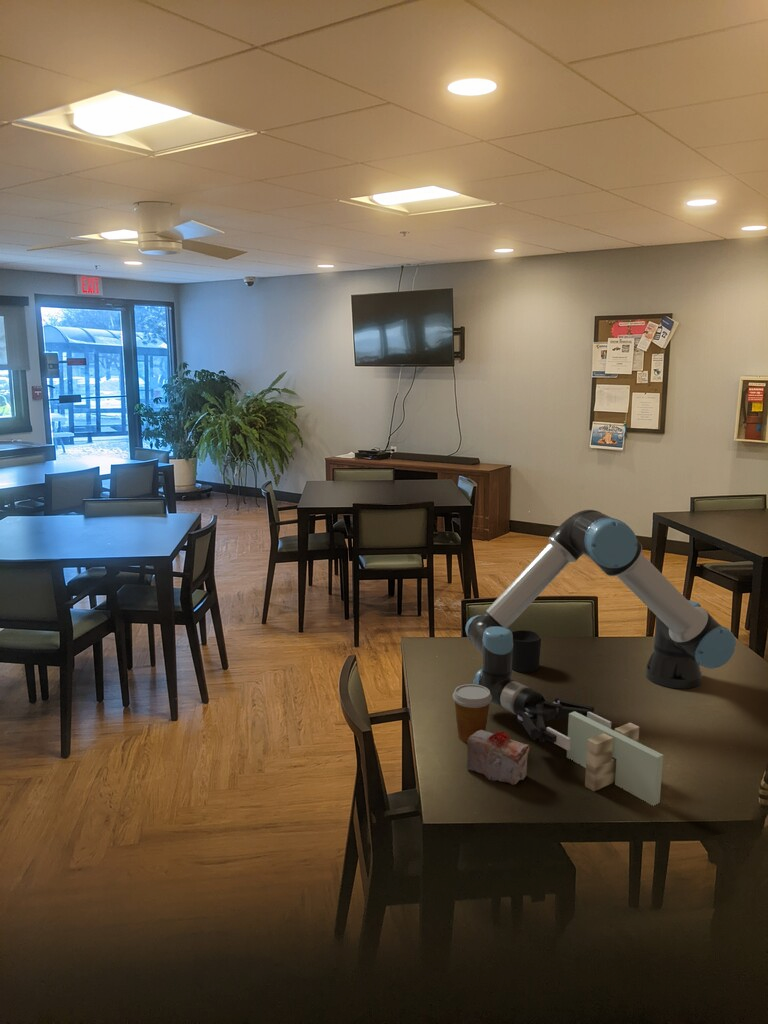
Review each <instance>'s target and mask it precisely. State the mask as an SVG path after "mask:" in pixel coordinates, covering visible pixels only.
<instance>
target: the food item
mask: <svg viewBox="0 0 768 1024" xmlns="http://www.w3.org/2000/svg"><path fill="white" fill-rule="evenodd" d="M466 744H467V746H466V747H467V748H466V750H467V753H466V755H467V756H466V759H467V760H466V769H467V770H469V771H474V772H476V773H478V774H481V775H484V776H485V778H487V780H489V781H495V782H496V781H499V782H502V783H507V784H510V785H512V786H514V785H515V786H516V785H517V784H518V782H519V781H523V780H524V779H525V778H526V777H527V772H528V771H527V769H528V758H529V757H528V756H529V752H530V748H531V747H530V744H527V743H523V742H519V741H517V740H514V739H511V735H509V734H507V733H505V731H498V730H497V731H495V733H493V732H490V731H486V730H485V731H484V730H479V731H477V732H475V733H473V734H472V735H471V736H470V737H469V738H468V740H467V742H466Z"/></svg>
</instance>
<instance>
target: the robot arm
mask: <svg viewBox="0 0 768 1024" xmlns="http://www.w3.org/2000/svg"><path fill="white" fill-rule="evenodd" d="M642 552H643V545H642V544H641V542H640V541H639V540H638V539H637V536H636V534H635V531H633V529H632V528H631V527H630V526H629V525H628V524H627V523H626V522H624V521H622V520H619V519H618V518H614V517H611V516H608V515H607V514H605V513H602V512H601V511H600V510H599V511H598V510H595V509H584V510H580V511H577V512H576V513H574V514H572V515H571V516H569V517H568V518H566V520H564V521H563V522H562V523H561V524H560V525H558V527H557V528H556V529H555V530H554V531H553V532H552V533H551V534H550V535H549V537H548V543H547V544H546V545H545V546H544V547H543V549H541V551H539V552H538V553H537V555H536V556H535V557H534V558H533V559H532V561H530V563H529V564H528V565H526V567H525V568H524V569H523V570H522V571H521V572H520V573H519V575H517V576H516V578H515V579H514V580H512V582H511V583H510V584H509V585H508V586H507V587H506V589H504V591H503V592H502V593H501V594H500V595H499V596H498V597H497V598H496V599H495V600H494V601H493V602H492V603H491V605H489V607H487V609H486V610H484V612H483V613H482V614H481V615H479V614H477V615H474V616H472V617H470V618H469V619H468V621H466V624H465V634H466V636H467V637H468V640H469V641H470V643H471V644H472V645H473V646H474V647H475V649H476V650H477V651H478V652H479V653H480V655H481V656H482V668H481V669H479V670H478V671H477V672H476V673H475V675H474V676H475V677H474V679H473V681H472V684H476V685H481V686H484V687H486V688H487V689H489V691H490V694H491V696H492V700H491V702H490V703H492V704H493V703H494V704H495V705H497V706H499V707H501V708H502V709H504V710H506V711H508V712H510V713H512V714H513V715H516V716H517V722H518V723H519V724H521V725H522V726H523V728H524V729H525V731H526V732H527V734H528V735H529V737H530V738H531V739H532V740H533V741H535V740H538V739H539V742H541V743H544V742H545V740H546V741H548V742H550V743H553V744H554V745H556V746H559V747H561V748H562V749H564V750H566V752H567V751H568V750H570V738H569V737H568V735H565V734H563V733H561V732H559V731H558V730H556V729H553V728H552V727H550V726H547V727H546V726H545V722H548V721H550V720H561V719H568V720H569V713H572V712H574V711H575V712H577V713H579V714H581V715H583V716H585V717H587V718H589V719H592V720H594V721H596V722H598V723H600V724H602V725H604V726H606V727H608V728H610V729H612V721H610V720H608V719H606V718H604V717H602V716H599V715H598V714H596V713H595V707H594V706H593V705H586V704H582V703H577V702H573V701H570V700H565V699H561V698H558V697H555V698H554V701H553V702H551V701H548V700H546V699H545V697H544V696H543V694H541V693H540V692H539V691H537V690H535V689H533V688H530V687H529V686H527V685H524V684H523V683H521V682H518V681H516V680H515V679H512V675H513V674H512V673H513V672H512V671H513V669H512V653H513V635H512V632H513V631H511V630H510V629H509V627H510V626H512V624H513V623H514V622H515V621H516V620H517V619H518V618H519V616H521V615H522V613H523V612H524V611H526V609H527V608H528V607H529V606H530V605H531V604H532V603H533V602H534V601H535V599H537V597H538V596H539V595H540V594H542V592H543V591H544V590H545V589H546V588H547V587H548V586H549V585H550V584H551V583H552V582H553V580H555V579H556V578H557V576H558V575H559V574H561V572H562V571H563V570H564V569H565V568H567V565H569V563H573V562H574V563H575V562H576V561H578V560H579V559H580V557H582V556H583V555H585V556H586V557H588V558H589V559H590V560H591V561H592V562H593V563H595V565H596V566H597V567H599V568H600V570H601V571H602V572H603V573H605V575H606V576H608V577H617V578H618V579H619V580H620V582H621V583H623V584H624V585H625V586H626V587H627V588H628V589H629V590H630V591H631V592H632V593H633V594H634V595H635V596H636V597H637V598H638V600H640V601H641V602H642V603H643V604H644V605H645V606H646V607H647V608H648V609H649V610H650V611H651V612H652V613H653V614H654V615H655V627H654V640H653V641H654V642H653V650H652V653H651V655H650V658H649V660H648V662H647V664H646V666H645V677H646V678H647V679H648V680H650V681H651V682H653V683H655V685H660V686H662V687H667V688H673V689H692V688H696V687H698V686H700V685H701V683H702V677H703V676H702V675H703V674H702V671H701V668H700V666H702V667H704V668H707V669H710V670H711V669H717V668H720V667H723V666H724V665H726V664H727V663H728V662H729V661H730V660H731V659H732V657H733V656H734V653H735V651H736V648H735V647H736V646H737V641H736V637H735V634H734V633H733V632H732V631H731V630H730V629H729V628H728V627H726V626H723V625H721V624H720V623H719V622H718V621H717V620H716V619H714V617H713V616H712V615H711V614H710V613H709V612H708V611H707V610H706V608H703V607H702V605H701V604H700V602H697V601H694V600H689V599H687V598H686V597H685V596H684V595H683V594H682V593H681V592H680V591H679V589H677V588H676V587H675V586H674V585H673V584H672V582H670V581H669V579H668V578H666V576H664V575H663V573H662V572H661V571H660V570H659V569H657V567H656V566H654V564H653V563H652V562H651V561H650V560H649V559H648V558H647V557H646V556H645V555H644V554H643V553H642ZM557 713H558V714H557ZM534 721H535V723H536V724H535V723H534Z"/></svg>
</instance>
